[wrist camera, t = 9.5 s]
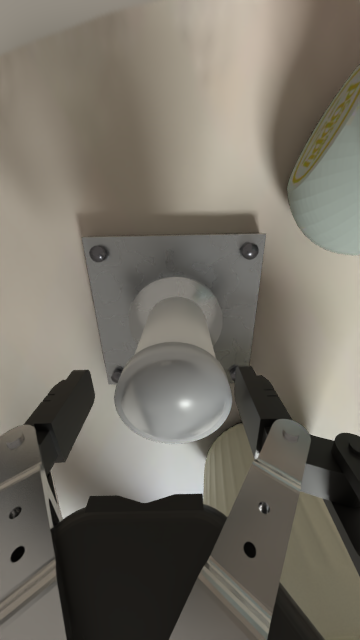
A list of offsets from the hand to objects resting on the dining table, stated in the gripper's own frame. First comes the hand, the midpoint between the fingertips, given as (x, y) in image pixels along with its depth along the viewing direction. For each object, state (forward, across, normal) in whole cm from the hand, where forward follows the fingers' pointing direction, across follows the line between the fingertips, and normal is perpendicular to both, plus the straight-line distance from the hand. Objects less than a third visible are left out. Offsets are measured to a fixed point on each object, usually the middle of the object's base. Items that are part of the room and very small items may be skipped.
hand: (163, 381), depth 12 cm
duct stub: (+7, -1, 0) cm, 7 cm away
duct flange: (+10, -1, 0) cm, 10 cm away
